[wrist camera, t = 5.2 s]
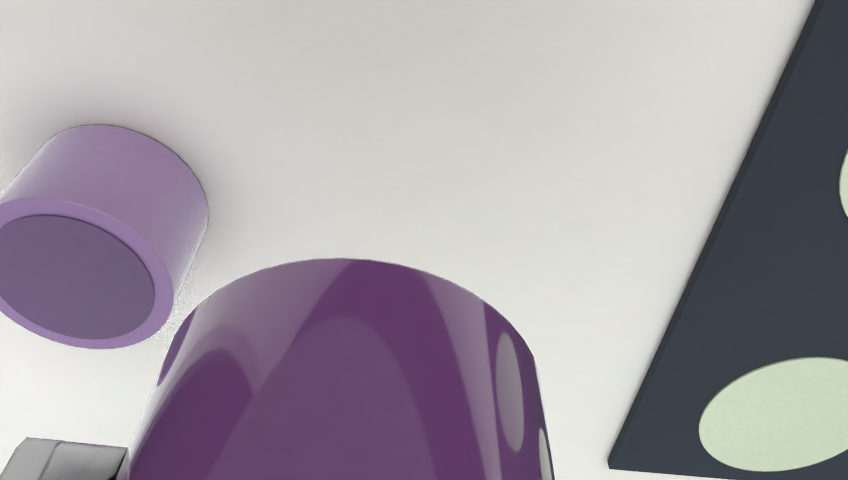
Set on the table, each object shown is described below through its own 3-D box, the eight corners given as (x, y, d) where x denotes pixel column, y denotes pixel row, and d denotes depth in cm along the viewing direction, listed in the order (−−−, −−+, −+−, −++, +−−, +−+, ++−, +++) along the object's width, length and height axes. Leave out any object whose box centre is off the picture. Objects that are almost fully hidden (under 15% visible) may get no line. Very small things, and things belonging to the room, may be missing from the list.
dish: (12, 113, 24) (-62, 188, 21) (202, 134, 25) (162, 211, 21) (50, 258, 28) (-7, 342, 25) (213, 274, 29) (181, 360, 25)
